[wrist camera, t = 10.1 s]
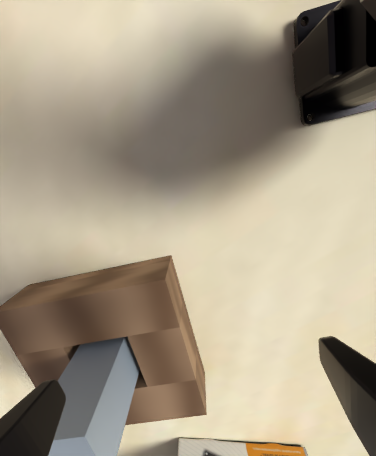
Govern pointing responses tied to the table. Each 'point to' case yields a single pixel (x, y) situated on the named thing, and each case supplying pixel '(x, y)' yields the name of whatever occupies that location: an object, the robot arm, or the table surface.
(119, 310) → the mortise block
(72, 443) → the tenon peg
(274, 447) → the hard drive box
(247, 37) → the table surface
